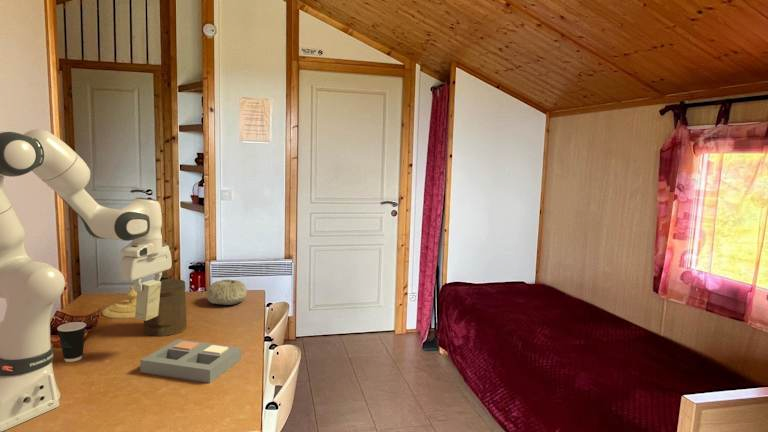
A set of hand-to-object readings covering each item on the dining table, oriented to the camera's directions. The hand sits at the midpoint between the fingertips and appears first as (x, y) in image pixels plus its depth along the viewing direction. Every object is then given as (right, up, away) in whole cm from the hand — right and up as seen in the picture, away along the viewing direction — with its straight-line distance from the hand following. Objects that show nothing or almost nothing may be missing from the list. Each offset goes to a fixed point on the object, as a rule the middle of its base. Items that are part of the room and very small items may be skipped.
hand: (148, 288), depth 162 cm
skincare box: (-1, -10, +1) cm, 10 cm away
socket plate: (+17, -24, -5) cm, 30 cm away
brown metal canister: (-6, -20, +25) cm, 33 cm away
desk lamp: (-29, -16, +46) cm, 57 cm away
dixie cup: (-23, -23, -3) cm, 32 cm away
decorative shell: (+6, -16, +61) cm, 63 cm away
